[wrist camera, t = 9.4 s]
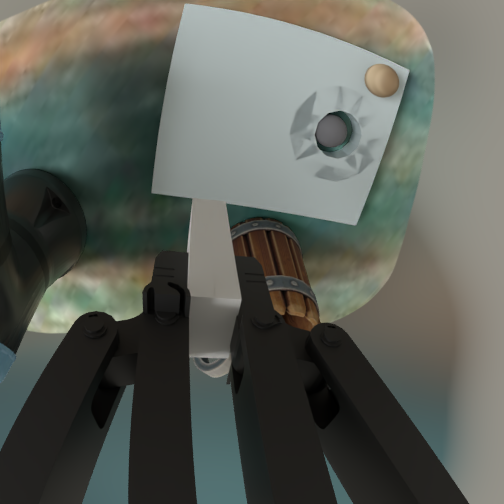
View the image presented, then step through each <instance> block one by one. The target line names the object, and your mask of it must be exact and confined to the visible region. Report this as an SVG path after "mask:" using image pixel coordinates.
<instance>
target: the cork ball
mask: <svg viewBox="0 0 504 504" xmlns="http://www.w3.org/2000/svg"><path fill="white" fill-rule="evenodd" d="M364 81H365V85H366V87H367V89H368V90H369V91H370V92H371V93H372V94H374V95H375V96H378V97H382V98H385V97H390V96H392V95H393V94H395V93H396V91H397V90H398V88H399V77H398V75H397V73H396V72H395V70H394V69H392V68H391V67H390V66H388V65H385V64H375V65H372V66H371V67H369V68H368V69H367V71H366V73H365V77H364Z"/></svg>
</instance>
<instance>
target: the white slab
mask: <svg viewBox="0 0 504 504" xmlns="http://www.w3.org/2000/svg"><path fill="white" fill-rule="evenodd" d="M375 64H385V65H388V66H390V67H391V68H392V69H394V70H395V72H396V73H397V75H398V77H399V88H398V90H397V91H396V93H395V94H393V95H392V96H390V97H385V98H382V97H378V96H375V95H374V94H372V93H371V92H370V91H369V90H368V89H367V87H366V85H365V81H364V77H365V73H366V71H367V69H368V68H369V67H371V66H372V65H375ZM408 74H409V70H408V69H406V68H404V67H402V66H400V65H398V64H396V63H394V62H392V61H389V60H387V59H385V58H383V57H381V56H378V55H376V54H374V53H372V52H369V51H367V50H365V49H362V48H360V47H357V46H355V45H352V44H350V43H347V42H345V41H342V40H339V39H336V38H334V37H331V36H328V35H325V34H322V33H319V32H316V31H313V30H310V29H307V28H303V27H300V26H297V25H293V24H290V23H286V22H282V21H279V20H275V19H271V18H267V17H262V16H258V15H254V14H249V13H244V12H239V11H234V10H228V9H222V8H216V7H209V6H202V5H194V4H185V6H184V10H183V14H182V18H181V22H180V26H179V30H178V34H177V38H176V42H175V47H174V51H173V56H172V61H171V65H170V70H169V75H168V80H167V86H166V91H165V97H164V102H163V108H162V114H161V121H160V127H159V134H158V141H157V148H156V156H155V164H154V173H153V182H152V192H151V193H154V194H162V195H170V196H178V197H185V198H192V199H193V198H198V199H208V200H218V201H226V203H227V204H234V205H240V206H247V207H253V208H259V209H265V210H272V211H278V212H283V213H289V214H295V215H301V216H307V217H312V218H318V219H323V220H329V221H334V222H339V223H345V224H350V225H355V226H356V224H357V222H358V220H359V217H360V215H361V212H362V210H363V207H364V204H365V202H366V199H367V197H368V194H369V192H370V189H371V186H372V184H373V181H374V178H375V176H376V173H377V170H378V167H379V165H380V162H381V159H382V156H383V153H384V150H385V147H386V145H387V142H388V139H389V136H390V133H391V130H392V127H393V124H394V121H395V117H396V114H397V111H398V108H399V105H400V101H401V98H402V95H403V91H404V88H405V85H406V81H407V78H408ZM335 111H343V112H344V113H345V114H346V115H347V116H348V117H349V118H350V120H351V125H352V130H353V131H352V134H351V137H350V140H349V142H348V143H347V144H346V145H345V146H344V147H343V148H342V149H341V150H337V151H333V152H326V151H322V150H320V149H319V148H318V147H317V142H316V138H315V132H316V129H317V125H318V122H319V121H320V120H321V119H322V118H323V117H324V116H325V115H327V114H328V113H331V112H335Z"/></svg>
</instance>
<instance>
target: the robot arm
mask: <svg viewBox="0 0 504 504" xmlns="http://www.w3.org/2000/svg"><path fill="white" fill-rule="evenodd" d="M2 140H3V133H2V132H1V122H0V383H1V382H2V381H3V380H4V379H5V377H6V375H7V373H8V371H9V369H10V367H11V365H12V363H13V362H14V361H15V359H16V352H17V350H18V348H19V346H20V343H21V341H22V339H23V336H24V334H25V332H26V330H27V328H28V326H29V323H30V321H31V319H32V317H33V315H34V313H35V311H36V309H37V307H38V305H39V303H40V301H41V299H42V297H43V295H44V293H45V291H46V289H47V288H48V287H49V286H51V285H52V284H53V283H54V282H55V281H56V280H57V279H58V278H60V277H62V276H64V275H65V274H67V273H68V272H69V271H70V270H71V269H72V268H73V267H74V266H75V264H76V263H77V261H78V259H79V257H80V255H81V254H82V252H83V249H84V247H85V243H86V235H87V230H86V222H85V217H84V214H83V211H82V209H81V206H80V204H79V202H78V201H77V199H76V197H75V196H74V194H73V193H72V192H71V190H70V189H69V188H68V187H67V186H66V185H65V184H64V183H63V182H62V181H60V180H59V179H58V178H56V177H55V176H53V175H51V174H49V173H47V172H44V171H41V170H36V169H25V170H21V171H18V172H16V173H14V174H12V175H10V176H9V177H8V178H7V179H5V180H4V181H3V170H2V152H1V141H2ZM142 294H143V312H142V313H141V314H140V315H139V316H136V317H134V318H132V319H128V320H122V321H115V320H114V318H113V317H112V316H110V315H108V314H106V313H105V312H98V311H95V312H88V313H86V314H84V315H82V316H80V317H79V318H78V319H77V320H76V321H75V322H74V324H73V325H72V327H71V328H70V330H69V331H68V333H67V334H66V336H65V338H64V339H63V341H62V342H61V344H60V345H59V347H58V348H57V350H56V352H55V353H54V355H53V356H52V358H51V360H50V361H49V363H48V364H47V366H46V368H45V369H44V371H43V373H42V374H41V376H40V378H39V379H38V381H37V383H36V385H35V386H34V388H33V390H32V391H31V394H30V395H29V397H28V399H27V400H26V402H25V404H24V406H23V408H22V410H21V412H20V413H19V415H18V417H17V419H16V421H15V423H14V425H13V427H12V429H11V430H10V433H9V434H8V437H7V438H6V441H5V443H4V445H3V447H2V449H1V451H0V504H82V502H83V499H84V496H85V493H86V490H87V487H88V484H89V481H90V478H91V476H92V473H93V470H94V467H95V464H96V462H97V459H98V456H99V453H100V451H101V448H102V446H103V443H104V440H105V438H106V435H107V432H108V430H109V427H110V425H111V422H112V420H113V417H114V415H115V412H116V410H117V408H118V405H119V403H120V400H121V398H122V395H123V393H124V390H125V388H126V385H132V384H134V393H133V404H132V416H131V431H130V449H129V450H130V451H129V483H128V484H129V485H128V486H129V487H128V503H129V504H197V499H196V487H195V476H194V462H193V447H192V429H191V406H190V370H189V357H201V358H228V357H229V353H230V352H231V360H232V361H231V365H230V369H229V373H228V378H227V384H230V381H231V389H232V397H233V405H234V412H235V421H236V429H237V436H238V443H239V450H240V458H241V464H242V471H243V478H244V484H245V492H246V498H247V504H337V501H336V497H335V493H334V490H333V486H332V483H331V479H330V475H329V472H328V468H327V465H326V461H325V457H324V454H325V456H326V458H327V460H328V461H329V463H330V465H331V466H332V468H333V470H334V472H335V473H336V475H337V477H338V478H339V480H340V482H341V484H342V485H343V487H344V489H345V490H346V492H347V494H348V495H349V497H350V499H351V500H352V502H353V504H469V503H468V501H467V500H466V498H465V497H464V495H463V494H462V492H461V491H460V490H459V488H458V487H457V485H456V484H455V482H454V481H453V480H452V478H451V476H450V475H449V473H448V472H447V470H446V469H445V468H444V466H443V465H442V463H441V462H440V460H439V459H438V458H437V456H436V455H435V453H434V452H433V450H432V449H431V447H430V446H429V445H428V443H427V442H426V440H425V439H424V438H423V436H422V435H421V433H420V432H419V431H418V429H417V428H416V426H415V425H414V423H413V422H412V421H411V419H410V418H409V416H407V414H406V412H405V411H404V409H403V408H402V407H401V405H400V404H399V403H398V401H397V400H396V399H395V397H394V396H393V394H392V393H391V392H390V390H389V389H388V388H387V386H386V385H385V383H384V382H383V381H382V379H381V378H380V377H379V375H378V374H377V373H376V371H375V370H374V368H373V367H372V366H371V364H370V363H369V362H368V360H367V359H366V358H365V356H364V355H363V354H362V352H361V351H360V350H359V348H358V347H357V346H356V344H355V343H354V342H353V340H352V339H351V338H350V336H349V335H348V334H347V333H346V332H345V331H344V330H343V329H342V328H340V327H339V326H336V325H335V324H331V323H319V324H317V325H315V326H314V327H313V328H312V330H311V331H307V330H303V329H300V328H296V327H293V326H290V325H288V324H287V323H285V320H284V319H283V317H282V315H281V314H279V313H278V312H277V311H276V310H274V307H273V303H272V300H271V296H270V293H269V289H268V285H267V283H266V278H265V276H264V271H263V268H262V265H261V264H260V263H259V262H258V260H257V259H256V258H255V257H247V256H235V255H234V251H233V245H232V239H231V232H230V226H229V220H228V214H227V208H226V201H218V200H208V199H198V198H193V199H192V208H191V217H190V226H189V236H188V247H187V252H175V251H162V252H161V253H160V254H159V255H158V256H157V257H156V259H155V265H154V270H153V276H152V281H151V283H149V284H148V285H147V286H145V288H144V290H143V292H142ZM323 453H324V454H323Z"/></svg>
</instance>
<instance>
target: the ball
mask: <svg viewBox="0 0 504 504" xmlns="http://www.w3.org/2000/svg"><path fill="white" fill-rule="evenodd" d="M346 136H347V127H346V124H345V123H344V121H343V120H342V119H341V118H339V117H338V116H335V115H331V114H329V115H325V116H324V117H323V118H322V119H321V120H320V121H319V122H318V125H317V129H316V132H315V138H316V140H317V141H318V142H319V143H320V144H322V145H323V146H326V147H336V146H339V145H340V144H342V143H343V142H344V141H345V139H346Z"/></svg>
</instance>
